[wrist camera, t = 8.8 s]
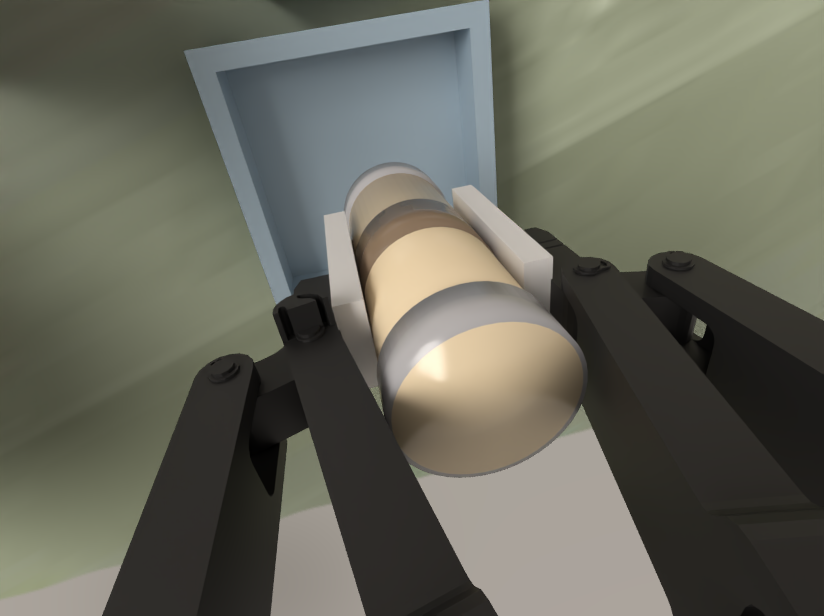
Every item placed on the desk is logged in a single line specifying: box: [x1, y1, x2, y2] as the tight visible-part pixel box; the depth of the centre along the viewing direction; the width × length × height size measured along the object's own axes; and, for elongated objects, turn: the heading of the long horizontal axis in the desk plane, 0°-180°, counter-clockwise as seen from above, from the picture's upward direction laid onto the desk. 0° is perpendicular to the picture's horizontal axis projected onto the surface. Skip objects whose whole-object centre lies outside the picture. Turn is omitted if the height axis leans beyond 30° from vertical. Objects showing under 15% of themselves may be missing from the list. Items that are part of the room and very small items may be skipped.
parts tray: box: [184, 0, 497, 305], centre depth 25 cm, size 14×14×4 cm
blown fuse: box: [344, 162, 588, 478], centre depth 14 cm, size 4×4×12 cm
